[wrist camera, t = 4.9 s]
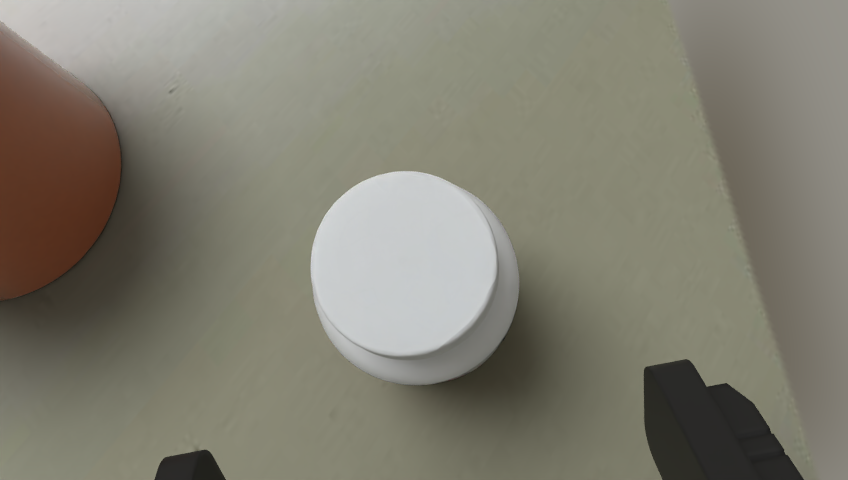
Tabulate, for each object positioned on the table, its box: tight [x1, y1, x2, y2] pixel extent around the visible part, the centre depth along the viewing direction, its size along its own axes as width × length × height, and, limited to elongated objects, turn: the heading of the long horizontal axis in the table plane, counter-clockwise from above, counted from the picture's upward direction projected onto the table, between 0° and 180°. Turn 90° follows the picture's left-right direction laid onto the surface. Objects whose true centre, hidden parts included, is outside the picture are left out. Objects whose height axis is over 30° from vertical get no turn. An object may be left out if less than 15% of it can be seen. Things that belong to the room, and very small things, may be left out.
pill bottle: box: [311, 171, 519, 385], centre depth 18 cm, size 5×5×9 cm
